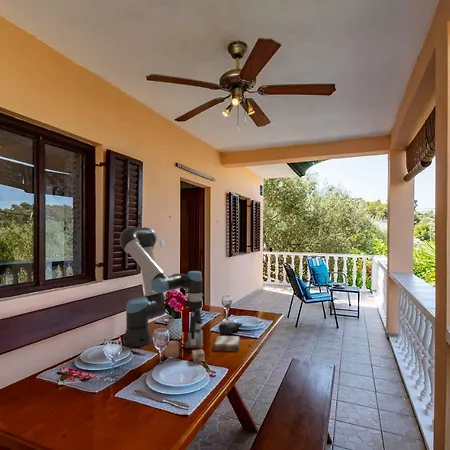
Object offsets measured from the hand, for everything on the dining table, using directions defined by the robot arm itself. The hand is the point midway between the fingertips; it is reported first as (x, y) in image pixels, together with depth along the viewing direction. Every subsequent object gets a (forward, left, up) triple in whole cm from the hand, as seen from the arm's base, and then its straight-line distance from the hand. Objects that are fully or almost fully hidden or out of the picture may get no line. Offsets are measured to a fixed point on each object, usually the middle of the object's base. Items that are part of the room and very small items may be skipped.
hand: (195, 340), depth 166 cm
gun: (+17, +21, -3) cm, 27 cm away
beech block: (+5, -18, -3) cm, 19 cm away
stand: (+17, +1, -3) cm, 17 cm away
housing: (0, 0, -3) cm, 3 cm away
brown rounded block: (-9, -14, -3) cm, 17 cm away
